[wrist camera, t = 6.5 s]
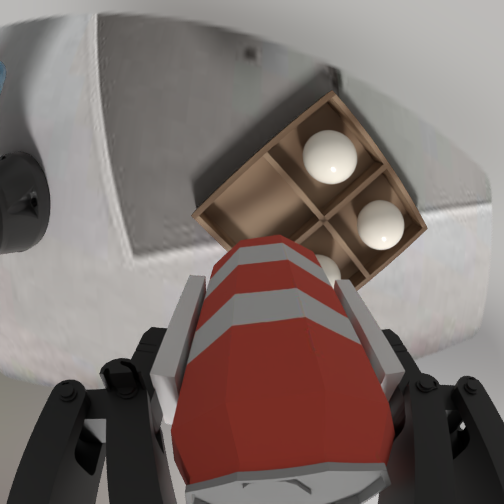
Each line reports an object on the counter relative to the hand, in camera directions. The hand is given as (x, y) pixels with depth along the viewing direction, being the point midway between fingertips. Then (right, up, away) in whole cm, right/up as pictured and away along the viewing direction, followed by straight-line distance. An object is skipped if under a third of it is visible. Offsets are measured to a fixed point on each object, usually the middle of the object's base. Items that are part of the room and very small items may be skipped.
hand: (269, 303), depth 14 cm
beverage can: (0, +1, +2) cm, 2 cm away
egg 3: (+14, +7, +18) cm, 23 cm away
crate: (+7, +7, +18) cm, 21 cm away
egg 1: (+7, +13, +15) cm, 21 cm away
